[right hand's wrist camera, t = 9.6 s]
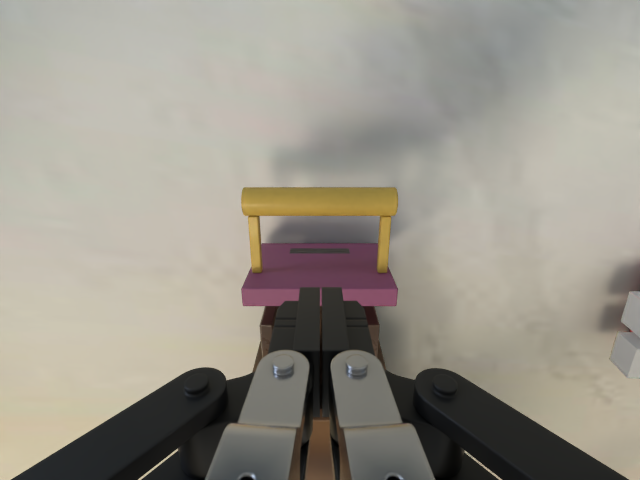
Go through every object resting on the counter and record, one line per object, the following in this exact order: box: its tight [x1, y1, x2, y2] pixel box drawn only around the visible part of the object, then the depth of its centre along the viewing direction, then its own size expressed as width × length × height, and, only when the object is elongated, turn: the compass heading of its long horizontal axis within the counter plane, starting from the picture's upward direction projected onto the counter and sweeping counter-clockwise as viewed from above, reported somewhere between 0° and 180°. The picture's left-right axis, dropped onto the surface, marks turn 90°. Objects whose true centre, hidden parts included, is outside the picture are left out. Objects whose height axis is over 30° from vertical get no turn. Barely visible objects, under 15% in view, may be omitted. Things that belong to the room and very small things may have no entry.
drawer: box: [241, 187, 398, 409], centre depth 25 cm, size 21×9×8 cm, turn 0°
